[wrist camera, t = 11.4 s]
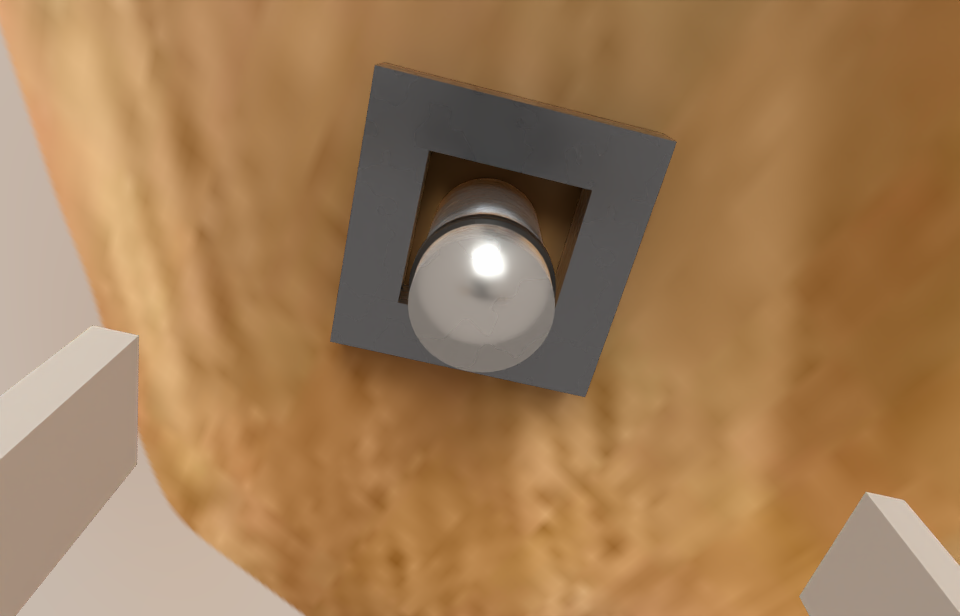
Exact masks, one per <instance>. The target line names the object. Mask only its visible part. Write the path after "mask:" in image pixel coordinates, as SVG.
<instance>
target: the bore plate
mask: <svg viewBox="0 0 960 616" xmlns="http://www.w3.org/2000/svg"><path fill="white" fill-rule="evenodd" d="M676 143H677V142H676V141H675V140H673V139H671V138H670V137H668V136H666V135H665V134H663V133H659V132H655V131H651V130H647V129H643V128H639V127H635V126H631V125H628V124H624V123H620V122H616V121H612V120H608V119H604V118H600V117H596V116H592V115H588V114H584V113H581V112H577V111H573V110H569V109H565V108H561V107H557V106H553V105H549V104H545V103H541V102H537V101H534V100H530V99H526V98H522V97H518V96H514V95H510V94H506V93H502V92H498V91H494V90H490V89H487V88H483V87H479V86H475V85H471V84H467V83H463V82H459V81H455V80H451V79H447V78H443V77H440V76H436V75H432V74H428V73H424V72H420V71H416V70H412V69H408V68H404V67H400V66H396V65H393V64H389V63H385V62H383V63H380V64H377V65H375V68H374V74H373V80H372V87H371V93H370V99H369V105H368V111H367V117H366V124H365V130H364V136H363V142H362V148H361V154H360V161H359V167H358V173H357V179H356V185H355V191H354V198H353V204H352V210H351V216H350V222H349V229H348V235H347V241H346V247H345V253H344V259H343V266H342V272H341V278H340V284H339V290H338V296H337V303H336V309H335V315H334V321H333V327H332V333H331V340H330V342H335V343H339V344H344V345H348V346H353V347H358V348H362V349H367V350H371V351H376V352H381V353H385V354H390V355H394V356H399V357H403V358H408V359H413V360H417V361H422V362H426V363H431V364H436V365H440V366H445V367H449V368H454V369H458V368H455V367H452V366H450V365H447V364H446V363H444V362H442V361H440V360H439V359H437V358H436V357H435V356H433V355H432V354H431V353H430V352H429V351H428V350H427V349H426V348H425V347H424V346H423V345H422V343H421V342H420V341H419V339H418V337H417V336H416V334H415V332H414V330H413V328H412V325H411V321H410V318H409V312H408V297H409V285H405V284H404V282H405V277H406V272H407V268H408V263H409V258H410V253H411V248H412V243H413V238H414V234H415V229H416V224H417V219H418V214H419V209H420V205H421V200H422V195H423V190H424V185H425V180H426V175H427V171H428V166H429V161H430V156H431V151H434V152H438V153H442V154H446V155H450V156H454V157H458V158H462V159H466V160H471V161H475V162H479V163H483V164H487V165H491V166H495V167H499V168H503V169H507V170H511V171H515V172H519V173H523V174H528V175H532V176H536V177H540V178H544V179H548V180H552V181H556V182H560V183H564V184H568V185H572V186H576V187H581V188H582V191H581V194H580V197H579V200H578V204H577V207H576V210H575V213H574V217H573V220H572V223H571V226H570V230H569V233H568V236H567V239H566V242H565V246H564V249H563V252H562V255H561V259H560V262H559V265H558V268H557V272H556V275H555V280H556V296H555V313H554V319H553V323H552V326H551V329H550V331H549V333H548V335H547V337H546V339H545V340H544V342H543V343H542V344H541V346H540V347H539V348H538V349H537V350H536V351H535V352H534V353H533V354H532V355H531V356H529V357H528V358H527V359H525V360H524V361H522V362H520V363H519V364H517V365H514V366H512V367H510V368H507V369H503V370H500V371H494V372H472V373H477V374H481V375H486V376H491V377H495V378H500V379H504V380H509V381H514V382H518V383H523V384H527V385H532V386H536V387H541V388H546V389H550V390H555V391H559V392H564V393H569V394H573V395H578V396H582V397H585V396H586V393H587V391H588V388H589V385H590V382H591V379H592V377H593V374H594V371H595V368H596V366H597V363H598V360H599V357H600V354H601V352H602V349H603V346H604V343H605V340H606V338H607V335H608V332H609V329H610V327H611V324H612V321H613V318H614V315H615V313H616V310H617V307H618V304H619V301H620V299H621V296H622V293H623V290H624V287H625V285H626V282H627V279H628V276H629V274H630V271H631V268H632V265H633V262H634V260H635V257H636V254H637V251H638V248H639V246H640V243H641V240H642V237H643V235H644V232H645V229H646V226H647V223H648V221H649V218H650V215H651V212H652V209H653V207H654V204H655V201H656V198H657V196H658V193H659V190H660V187H661V184H662V182H663V179H664V176H665V173H666V170H667V168H668V165H669V162H670V159H671V157H672V154H673V151H674V148H675V145H676ZM459 370H461V369H459ZM463 371H465V370H463ZM468 372H471V371H468Z"/></svg>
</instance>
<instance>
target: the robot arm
mask: <svg viewBox="0 0 960 616" xmlns="http://www.w3.org/2000/svg"><path fill="white" fill-rule="evenodd" d="M138 359H139V335H135V334H130V333H125V332H121V331H116V330H111V329H107V328H102V327H97V326H93V325H92V326H91V327H89V328H88V329H87V330H85V331H84V332H83V333H81V334H80V335H79V336H78V337H76V338H75V339H74V340H72V341H71V342H70V343H69V344H67V345H66V346H64V347H63V348H62V349H61V350H59V351H58V352H57V353H55V354H54V355H53V356H52V357H50V358H49V359H48V360H46V361H45V362H44V363H42V364H41V365H40V366H38V367H37V368H36V369H34V370H33V371H32V372H31V373H29V374H28V375H27V376H25V377H24V378H23V379H21V380H20V381H19V382H17V383H16V384H15V385H14V386H12V387H11V388H10V389H8V390H7V391H6V392H4V393H3V394H2V395H1V396H0V616H16V614H17V613H18V612H19V611H20V609H21V608H22V607H23V606H24V604H25V603H26V602H27V601H28V600H29V598H30V597H31V596H32V595H33V593H34V592H35V591H36V590H37V588H38V587H39V586H40V585H41V583H42V582H43V581H44V580H45V578H46V577H47V576H48V575H49V573H50V572H51V571H52V570H53V568H54V567H55V566H56V565H57V563H58V562H59V561H60V559H61V558H62V557H63V556H64V554H65V553H66V552H67V551H68V550H69V548H70V547H71V546H72V545H73V543H74V542H75V541H76V540H77V538H78V537H79V536H80V534H81V533H82V532H83V531H84V530H85V528H86V527H87V526H88V525H89V523H90V522H91V521H92V520H93V518H94V517H95V516H96V515H97V513H98V512H99V511H100V510H101V508H102V507H103V506H104V505H105V503H106V502H107V501H108V500H109V498H110V497H111V496H112V495H113V493H114V492H115V491H116V490H117V488H118V487H119V486H120V485H121V483H122V482H123V481H124V480H125V479H126V477H127V476H128V475H129V474H130V472H131V471H132V470H133V468H134V467H135V466H136V465H137V433H138ZM799 597H800V599H801V601H802V602H803V604H804V606H805V608H806V610H807V612H808V614H809V616H960V566H959V565H958V563H957V562H956V561H955V560H954V559H953V557H952V556H951V555H950V554H949V553H948V551H947V550H946V549H945V548H944V547H943V546H942V544H941V543H940V542H939V541H938V540H937V538H936V537H935V536H934V535H933V534H932V532H931V531H930V530H929V529H928V528H927V527H926V525H925V524H924V523H923V522H922V521H921V519H920V518H919V517H918V516H917V515H916V514H915V512H914V511H913V510H912V509H911V508H910V506H909V505H908V504H907V503H906V502H905V500H901V499H896V498H892V497H887V496H883V495H878V494H873V493H869V492H865V494H864V495H863V497H862V499H861V500H860V502H859V503H858V505H857V506H856V508H855V510H854V511H853V513H852V514H851V516H850V517H849V519H848V521H847V522H846V524H845V525H844V527H843V528H842V530H841V532H840V533H839V535H838V536H837V538H836V539H835V541H834V543H833V544H832V546H831V547H830V549H829V550H828V552H827V554H826V555H825V557H824V558H823V560H822V561H821V563H820V565H819V566H818V568H817V569H816V571H815V572H814V574H813V576H812V577H811V579H810V580H809V582H808V583H807V585H806V587H805V588H804V590H803V591H802V593H801V594H800V596H799Z"/></svg>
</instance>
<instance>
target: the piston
mask: <svg viewBox="0 0 960 616" xmlns="http://www.w3.org/2000/svg"><path fill="white" fill-rule="evenodd" d="M555 296H556V280H555V274H554V270H553V265H552V262H551V259H550V257H549V255H548V253H547V251H546V249H545V247H544V246H543V241H542V237H541V232H540V228H539V223H538V218H537V215H536V212H535V209H534V207H533V205H532V204H531V202H530V201H529V199H528V198H527V197H526V196H525V195H524V193H522V192H521V191H520V190H519V189H518V188H516V187H514V186H513V185H511V184H509V183H507V182H504V181H501V180H498V179H492V178H480V179H474V180H470V181H467V182H464V183H462V184H460V185H458V186H457V187H455V188H454V189H452V190H451V191H450V192H449V193H448V194H447V195H446V196H445V197H444V198H443V200H442V201H441V203H440V204H439V206H438V208H437V210H436V213H435V216H434V219H433V222H432V225H431V228H430V231H429V233H428V236H427V239H426V240H425V242H424V243H423V244H422V246H421V248H420V249H419V251H418V253H417V255H416V258H415V260H414V263H413V266H412V269H411V273H410V279H409V297H408V312H409V318H410V321H411V325H412V328H413V330H414V332H415V334H416V336H417V337H418V339H419V341H420V342H421V343H422V345H423V346H424V347H425V348H426V349H427V350H428V351H429V352H430V353H431V354H432V355H433V356H435V357H436V358H437V359H439V360H440V361H442V362H444V363H446V364H447V365H450V366H452V367H455V368H458V369H461V370H465V371H471V372H494V371H500V370H503V369H507V368H510V367H512V366H514V365H517V364H519V363H520V362H522V361H524V360H525V359H527V358H528V357H529V356H531V355H532V354H533V353H534V352H535V351H536V350H537V349H538V348H539V347H540V346H541V344H542V343H543V342H544V340H545V339H546V337H547V335H548V333H549V331H550V329H551V326H552V323H553V319H554V313H555Z"/></svg>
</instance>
